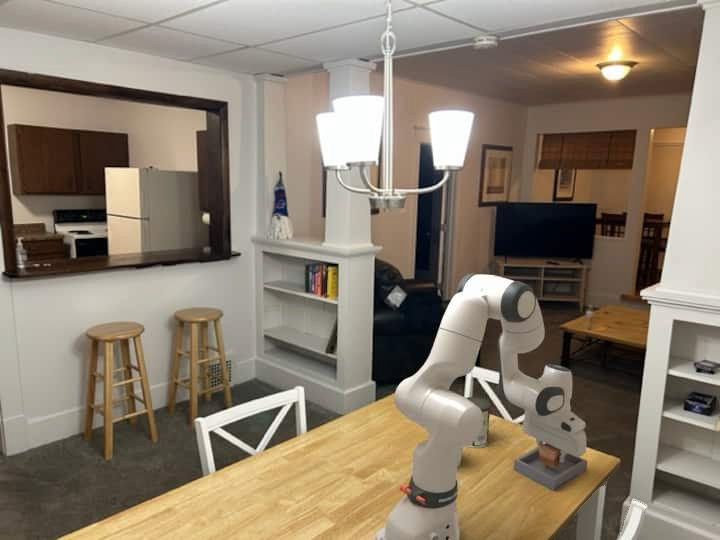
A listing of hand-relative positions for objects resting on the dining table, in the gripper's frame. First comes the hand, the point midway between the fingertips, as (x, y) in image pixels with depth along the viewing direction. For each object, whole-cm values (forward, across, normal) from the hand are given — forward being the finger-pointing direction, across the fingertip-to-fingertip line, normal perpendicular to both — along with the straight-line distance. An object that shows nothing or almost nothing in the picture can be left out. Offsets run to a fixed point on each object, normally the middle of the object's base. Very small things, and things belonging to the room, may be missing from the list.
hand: (551, 457), depth 162 cm
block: (+2, 0, 0) cm, 2 cm away
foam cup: (+5, -22, -22) cm, 31 cm away
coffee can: (+5, -27, -5) cm, 28 cm away
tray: (+5, 0, 0) cm, 5 cm away
